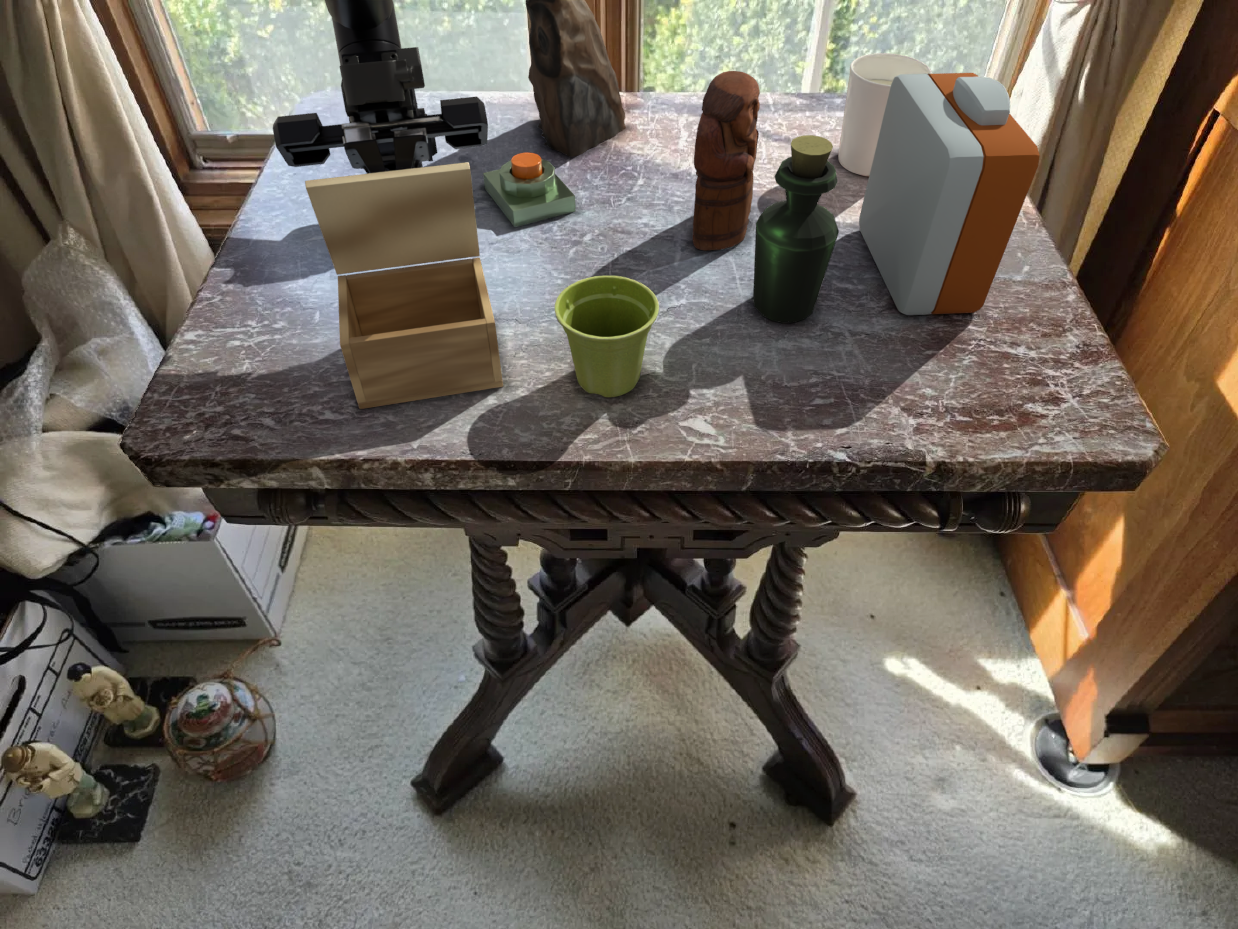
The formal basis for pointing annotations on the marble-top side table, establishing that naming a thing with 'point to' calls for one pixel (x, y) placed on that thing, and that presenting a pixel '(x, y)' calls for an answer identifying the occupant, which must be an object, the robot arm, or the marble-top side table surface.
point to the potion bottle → (796, 234)
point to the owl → (572, 77)
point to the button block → (529, 194)
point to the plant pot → (607, 331)
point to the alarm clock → (945, 190)
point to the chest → (418, 332)
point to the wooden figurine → (725, 161)
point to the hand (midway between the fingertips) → (401, 224)
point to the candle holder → (869, 105)
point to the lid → (396, 217)
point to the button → (526, 165)
